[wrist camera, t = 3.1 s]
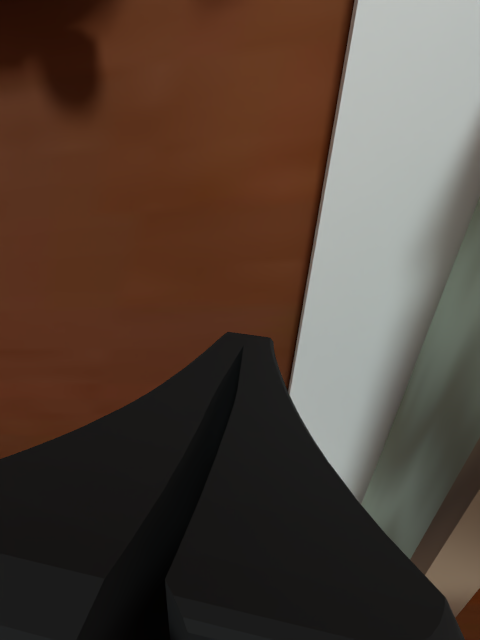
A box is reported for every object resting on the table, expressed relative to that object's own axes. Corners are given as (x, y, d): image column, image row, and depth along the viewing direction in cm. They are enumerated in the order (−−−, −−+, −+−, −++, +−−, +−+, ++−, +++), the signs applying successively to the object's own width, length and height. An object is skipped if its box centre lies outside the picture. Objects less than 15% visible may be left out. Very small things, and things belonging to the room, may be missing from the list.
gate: (381, 540, 14) (410, 682, 10) (342, 533, 14) (357, 669, 10) (565, 147, 7) (869, 140, 3) (485, 142, 7) (685, 130, 3)
